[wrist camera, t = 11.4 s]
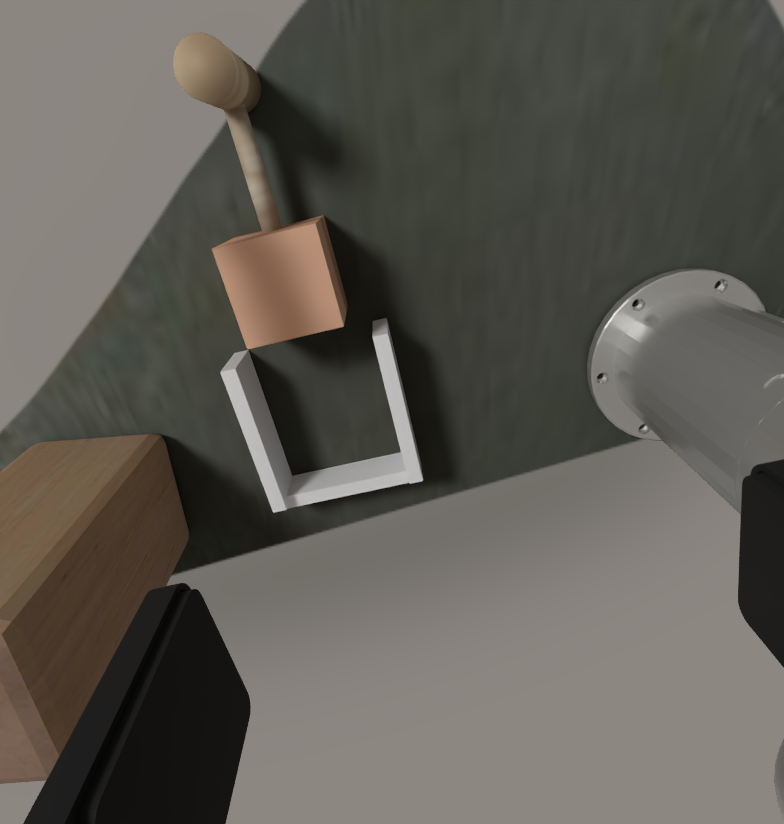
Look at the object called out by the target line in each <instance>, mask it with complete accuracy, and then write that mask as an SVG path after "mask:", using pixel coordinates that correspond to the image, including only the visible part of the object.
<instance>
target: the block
mask: <svg viewBox="0 0 784 824" xmlns="http://www.w3.org/2000/svg"><path fill="white" fill-rule="evenodd" d="M173 64H174V72H175V75H176V78H177V80H178V82H179V84H180V85H181V87H182V88H183V89H184V91H185V92H186V93H187V94H189V95H190V96H191V97H193V98H195V99H197V100H200V101H202V102H205V103H207V104H210V105H213V106H215V107H218V108H221V109H223V110H224V111H225V114H226V117H227V121H228V124H229V127H230V130H231V133H232V137H233V140H234V143H235V146H236V149H237V153H238V156H239V159H240V162H241V165H242V169H243V172H244V175H245V178H246V181H247V184H248V188H249V191H250V194H251V197H252V200H253V204H254V207H255V210H256V213H257V216H258V220H259V223H260V226H261V229H262V231H259V232H255V233H251V234H247V235H243V236H239V237H235V238H233V239H231V240H229V241H227V242H225V243H223V244H221V245H219V246H217V247H215V248H213V249H212V251H213V254H214V256H215V259H216V262H217V265H218V268H219V271H220V273H221V276H222V279H223V282H224V285H225V288H226V290H227V293H228V296H229V299H230V302H231V305H232V307H233V310H234V313H235V316H236V319H237V321H238V324H239V327H240V330H241V333H242V336H243V338H244V341H245V344H246V347H247V349H251V348H255V347H259V346H264V345H268V344H272V343H276V342H281V341H285V340H289V339H293V338H297V337H302V336H306V335H310V334H314V333H319V332H323V331H327V330H331V329H336V328H340V327H344V323H345V318H346V312H347V307H348V304H347V301H346V297H345V293H344V289H343V286H342V282H341V278H340V274H339V271H338V267H337V263H336V259H335V256H334V252H333V248H332V244H331V241H330V237H329V233H328V229H327V226H326V222H325V218H324V215H323V216H319V217H315V218H311V219H307V220H303V221H299V222H295V223H291V224H287V225H283V226H281V223H280V219H279V216H278V213H277V209H276V206H275V203H274V199H273V196H272V193H271V189H270V186H269V183H268V179H267V176H266V173H265V169H264V166H263V163H262V159H261V156H260V153H259V149H258V146H257V142H256V139H255V136H254V132H253V129H252V126H251V122H250V119H249V116H248V112H250V111H251V110H253V109H254V108H255V107H256V105H257V104H258V102H259V100H260V96H261V84H260V80H259V77H258V75H257V73H256V72H255V70H254V69H253V68H252V67H251V66H250V65H248V64H247V63H246V62H245V61H244V60H242V59H241V58H240V57H239V56H238V55H236V54H235V53H234V52H233V51H231V50H230V49H229V48H228V47H227V46H225V45H224V44H223V43H222V42H220V41H219V40H218V39H216V38H215V37H213V36H211V35H209V34H205V33H193V34H190V35H188V36H186V37H185V38H184V39H182V40H181V42H180V43H179V44H178V46H177V48H176V50H175V53H174V60H173Z"/></svg>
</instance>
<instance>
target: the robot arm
mask: <svg viewBox="0 0 784 824" xmlns="http://www.w3.org/2000/svg"><path fill="white" fill-rule="evenodd" d="M716 283H717V284H716ZM715 284H716V285H715ZM634 300H636V303H635V304H634V305H632V303H633V302H634ZM600 373H601V375H600V376H599V377H597V376H598V375H599V374H600ZM587 378H588V384H589V388H590V392H591V395H592V397H593V399H594V401H595V403H596V405H597V407H598V408H599V409H600V410H601V412H602V413H603V414H604V415H605V416H606V418H608V419H609V420H610V421H611V422H612V423H613V424H614V425H615V426H616V427H618V428H619V429H621V430H623V431H624V432H626V433H628V434H630V435H633V436H636V437H638V438H642V439H649V440H656V441H657V440H658V441H661V440H662V441H663V442H664V443H666V444H667V445H668V446H669V447H670V448H671V449H672V450H673V451H674V452H675V453H676V454H677V455H678V456H679V457H680V458H681V459H682V460H683V461H685V462H686V463H687V464H688V465H689V466H690V467H691V468H692V469H693V470H694V471H695V472H696V473H697V474H698V475H699V476H700V477H702V478H703V479H704V480H705V481H706V482H707V483H708V484H709V485H710V486H711V487H712V488H713V489H714V490H715V491H716V492H717V493H718V494H719V495H721V496H722V497H723V498H724V499H725V500H726V501H727V502H728V503H729V504H730V505H731V506H732V507H733V508H734V509H735V510H736V511H737V512H739V513H740V514H741V529H740V557H739V586H738V603H739V607H740V610H741V613H742V615H743V617H744V619H745V620H746V622H747V623H748V624H749V626H750V627H751V628H752V629H753V631H754V632H755V633H756V634H757V635H758V637H759V638H760V639H761V640H762V641H763V643H764V644H765V645H766V646H767V648H768V649H769V650H770V651H771V652H772V654H773V655H774V656H775V657H776V659H777V660H778V661H779V662H780V663H781V665H782V666H783V667H784V319H783V318H780V317H777V316H775V315H772V314H769V313H767V312H766V310H765V307H764V305H763V304H762V302H761V301H760V299H759V298H758V296H757V294H756V293H755V292H754V291H753V290H751V289H750V288H749V287H748V286H747V285H746V284H745V283H743V282H742V281H740V280H738V279H736V278H734V277H732V276H731V275H727V274H724V273H721V272H718V271H714V270H708V269H702V268H688V269H678V270H674V271H670V272H665V273H662V274H660V275H658V276H655V277H653V278H650V279H648V280H646V281H644V282H643V283H641V284H640V285H638V286H636V287H635V288H633V289H632V290H630V291H629V292H628V293H627V294H626V295H624V296H623V297H622V298H621V299H620V300H619V301H618V302H617V303H616V304H615V305H614V306H613V307H612V309H611V310H610V311H609V312H608V313H607V315H606V316H605V317H604V319H603V320H602V322H601V324H600V326H599V327H598V329H597V331H596V333H595V335H594V338H593V341H592V344H591V346H590V350H589V356H588V362H587ZM249 718H250V699H249V695H248V692H247V690H246V688H245V686H244V684H243V681H242V679H241V677H240V675H239V673H238V671H237V669H236V667H235V665H234V663H233V660H232V658H231V656H230V654H229V652H228V650H227V648H226V646H225V643H224V641H223V639H222V637H221V635H220V633H219V631H218V629H217V627H216V624H215V622H214V620H213V618H212V616H211V614H210V612H209V610H208V608H207V605H206V603H205V601H204V599H203V597H202V595H201V594H200V592H199V591H198V590H197V589H193V590H191V589H190V587H189V586H188V585H187V584H185V583H180V584H175V585H170V586H165V587H160V588H156V589H152V590H150V591H149V592H148V593H147V594H146V596H145V598H144V599H143V601H142V603H141V605H140V607H139V609H138V611H137V613H136V614H135V616H134V618H133V620H132V622H131V624H130V626H129V627H128V629H127V631H126V633H125V635H124V637H123V639H122V640H121V642H120V644H119V646H118V648H117V650H116V652H115V654H114V655H113V657H112V659H111V661H110V663H109V665H108V667H107V668H106V670H105V672H104V674H103V676H102V678H101V680H100V682H99V683H98V685H97V687H96V689H95V691H94V693H93V695H92V696H91V698H90V700H89V702H88V704H87V706H86V708H85V709H84V711H83V713H82V715H81V717H80V719H79V721H78V723H77V724H76V726H75V728H74V730H73V732H72V734H71V736H70V737H69V739H68V741H67V743H66V745H65V747H64V749H63V751H62V752H61V754H60V756H59V758H58V760H57V762H56V764H55V765H54V767H53V769H52V771H51V773H50V775H49V777H48V778H47V780H46V782H45V784H44V786H43V788H42V790H41V792H40V793H39V795H38V797H37V799H36V801H35V803H34V805H33V806H32V808H31V811H30V812H29V814H28V816H27V818H26V820H25V821H24V823H23V824H225V823H226V819H227V814H228V810H229V806H230V801H231V797H232V792H233V788H234V784H235V779H236V775H237V771H238V766H239V762H240V757H241V753H242V749H243V744H244V740H245V735H246V731H247V727H248V722H249ZM774 783H775V790H776V795H777V801H778V804H779V808H780V811H781V814H782V816H783V818H784V740H783V742H782V744H781V746H780V748H779V752H778V755H777V759H776V763H775V778H774Z"/></svg>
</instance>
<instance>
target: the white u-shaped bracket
mask: <svg viewBox="0 0 784 824" xmlns="http://www.w3.org/2000/svg"><path fill="white" fill-rule="evenodd" d="M372 337H373V341H374V345H375V349H376V353H377V357H378V361H379V365H380V369H381V373H382V377H383V381H384V385H385V389H386V393H387V397H388V401H389V405H390V409H391V413H392V417H393V421H394V425H395V429H396V433H397V437H398V441H399V445H400V449H401V452H400V453H395V454H391V455H386V456H381V457H377V458H372V459H368V460H363V461H358V462H354V463H349V464H344V465H340V466H335V467H331V468H326V469H321V470H317V471H312V472H307V473H303V474H298V475H294V476H292V474H291V471H290V468H289V465H288V462H287V459H286V457H285V454H284V451H283V448H282V445H281V442H280V439H279V436H278V434H277V431H276V428H275V425H274V422H273V419H272V416H271V414H270V411H269V408H268V405H267V402H266V399H265V396H264V393H263V391H262V388H261V385H260V382H259V379H258V376H257V373H256V371H255V368H254V365H253V362H252V359H251V356H250V353H249V350H246V351H241V352H237V353H234V355H233V356H232V357H231V359H230V360H229V361H228V363H227V364H226V365H225V366H224V368H223V369H222V370H221V372H220V373H221V375H222V378H223V381H224V383H225V386H226V389H227V391H228V394H229V397H230V399H231V402H232V405H233V407H234V410H235V413H236V415H237V418H238V421H239V423H240V426H241V428H242V431H243V434H244V436H245V439H246V442H247V444H248V447H249V450H250V452H251V455H252V458H253V460H254V463H255V466H256V468H257V471H258V474H259V476H260V479H261V482H262V484H263V487H264V490H265V492H266V495H267V497H268V500H269V503H270V505H271V508H272V511H273V513H275V512H279V511H284V510H287V509H288V508H292V507H297V506H302V505H307V504H311V503H316V502H321V501H325V500H330V499H335V498H340V497H344V496H349V495H354V494H358V493H363V492H368V491H373V490H377V489H382V488H387V487H391V486H396V485H401V484H406V483H409V484H412V483H416V482H421V481H423V474H422V468H421V461H420V457H419V452H418V448H417V444H416V440H415V436H414V431H413V427H412V423H411V419H410V414H409V410H408V406H407V402H406V397H405V393H404V389H403V385H402V381H401V376H400V372H399V368H398V364H397V359H396V355H395V351H394V347H393V343H392V338H391V334H390V330H389V326H388V321H387V318H383V319H379V320H375V321H373V329H372Z"/></svg>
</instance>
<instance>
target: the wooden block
mask: <svg viewBox="0 0 784 824" xmlns="http://www.w3.org/2000/svg"><path fill="white" fill-rule="evenodd" d="M188 538H189V531H188V527H187V523H186V519H185V515H184V512H183V508H182V504H181V500H180V496H179V493H178V489H177V485H176V481H175V477H174V473H173V470H172V466H171V462H170V458H169V454H168V451H167V447H166V443H165V441H164V439H163V438H162V436H161V435H157V434H142V435H129V436H115V437H102V438H89V439H75V440H62V441H49V442H39V443H37V444H35V445H34V446H32V447H30V448H29V449H28V450H26V451H25V452H24V453H23V454H22V455H20V456H19V457H18V458H17V459H15V460H14V461H13V462H12V463H10V464H9V465H8V466H7V467H5V468H4V469H3V470H2V471H1V472H0V784H2V783H16V782H29V781H43V780H47V778H48V777H49V775H50V773H51V771H52V769H53V767H54V765H55V764H56V762H57V760H58V758H59V756H60V754H61V752H62V751H63V749H64V747H65V745H66V743H67V741H68V739H69V737H70V736H71V734H72V732H73V730H74V728H75V726H76V724H77V723H78V721H79V719H80V717H81V715H82V713H83V711H84V709H85V708H86V706H87V704H88V702H89V700H90V698H91V696H92V695H93V693H94V691H95V689H96V687H97V685H98V683H99V682H100V680H101V678H102V676H103V674H104V672H105V670H106V668H107V667H108V665H109V663H110V661H111V659H112V657H113V655H114V654H115V652H116V650H117V648H118V646H119V644H120V642H121V640H122V639H123V637H124V635H125V633H126V631H127V629H128V627H129V626H130V624H131V622H132V620H133V618H134V616H135V614H136V613H137V611H138V609H139V607H140V605H141V603H142V601H143V599H144V598H145V596H146V594H147V593H148V592H149V591H150V590H152V589H156V588H160V587H165V586H166V585H167V583H168V581H169V578H170V577H171V575H172V573H173V571H174V569H175V567H176V565H177V563H178V561H179V559H180V557H181V555H182V553H183V551H184V549H185V547H186V545H187V543H188Z"/></svg>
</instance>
